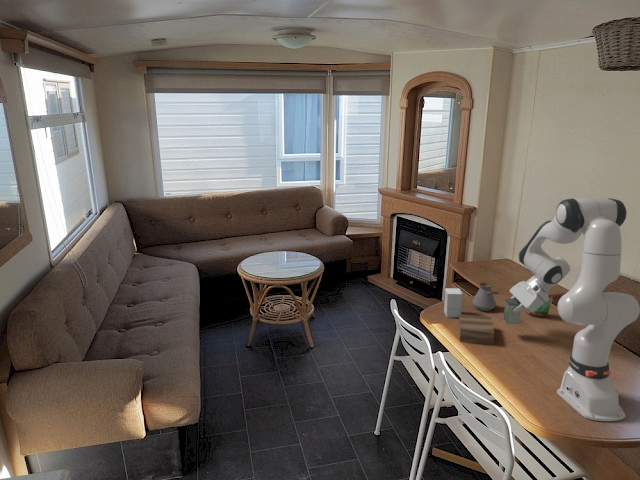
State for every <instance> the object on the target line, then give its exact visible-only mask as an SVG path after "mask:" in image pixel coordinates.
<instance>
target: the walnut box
mask: <svg viewBox="0 0 640 480" xmlns="http://www.w3.org/2000/svg"><path fill="white" fill-rule="evenodd" d="M458 318H459V321H458V331H459V334H458V335H459V342H463V343H471V344H480V345H481V344H482V345H491V346H492V345H494V344H495V342H494V341H495V328H494V325H493V320H492V319H493V318H492V316H484V315H473V314H462V313H461V314H460V317H458Z"/></svg>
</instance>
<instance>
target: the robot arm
mask: <svg viewBox="0 0 640 480" xmlns="http://www.w3.org/2000/svg"><path fill="white" fill-rule="evenodd" d="M626 219H627V208H626V205H625V203H624V202H623V201H621V200H620V199H616V198H601V197H600V198H598V197H569V198H568V199H567V198H565V199H564V200H563V199H562V200H561V201H560V202H559V204H558V205H557V207H556V209H555V215H554V217H553V219H552V220H547V221H545V222H544V223H542V224H541V225H540V226H538V228H537V229H536V230H535V232H534V234H533V235H532V236H531V238H530V239H529V241H528V242H527V243H526V244H525V245H524V246H523V248H521V249H520V251H519V253H518V260H519V263H521V265H523V266H525V267H526V268H527V269H529V271H530V272H531V273H533V276H531V277H530V278H528V279H527V280H523V281H519V282H518V283H516V284H515V285H513V286H512V287H511V288H510V289H509V293H510V294H511V295H512V296H511V297H510V299H517V300H518V301H519V302H520V303H521V304H520V306H518V307H514V308H513V311H514V312H515V313H517V312H518V311H520V312H521V311H522V310H525V309H526V311H527V310H528V311H529V312H534V311H536V310H537V309H538V308H539V307H541V306H542V305H543V303H544V302H547V301H548V300H549V298H550V297H549V293H548V292H549V291H551V289H552V287H554V286H556V285H558V284H560V282H561V281H562V280H564V279H565V277H566V276H568V274H569V273H570V271H571V266H570V264H569V263H568V262H567V261H566V260H565V259H564V258H562V257H560V256H557V257H556V258H554V259H553V257H551V256H550V254H549V253H547V252H545V250H543V247H542V245H543V244H544V242H545V241H546V240H550V241H552V242H554V243H557V244H562V245H563V244H571V243H574V242H575V241H577V240H578V239H579V238H580V237H581V236H582V235H583V247H582V258H581V259H582V260H581V267H580V273H579V277H578V278H577V280H576V282H575V284H574V285H573V286H572V288H571V289H570V290H568V291H567V292H566V293H564V294H563V295H562V296H560V298H559V300H558V302H557V313H558V315H559V317H560V318H561V319H562V320H563V322H564V323H568V324H571V325H572V324H573V325H578V326H586V327H585V328H583V329H581V330H579V331H578V332H577V333H576V334H575V335H574V338H573V345H572V352H571V353H570V355H569V361H568V367H567V369H566V370H565V372H564V373H563V376H562V377H563V378H562V381H561V385H560V387H559V388H558V389H557V391H556V394H557V395H559V397H561V399H563V400H564V401H565V402H566V403H567V404H568V405H570V407H572V408H573V409H574V410H575V411H577V413H578V414H580V415H581V416H582V417H583V418H585V419H587V420H591V421H597V422H616V421H617V422H618V421H622V420H624V419H625V418H626V413H625V411H624V410H623V409H622V407H621V405H620V403H619V402H620V401H619V396H620V390H619V389H618V388H615V387H614V384H613V379H611V377H610V375H611V372H612V371H610V363H609V359H610V353H611V348H612V346H613V343H614V341H615V340H616V338H617V336H618V335H619V334H620V333H621V331H623V329H624V328H626V327H627V326H629V325H630V324H632V323H634V322H636V321H637V319H638V317H639V316H640V305H639V302H638V300H637V299H636V297H634V296H633V295H631V294H628V293H623V292H617V291H611V292H610V291H605V292H604V290H605V288H606V287H607V286H608V285H610V284H611V283H614V282H615V281H617V280H618V278H619V276H620V274H621V261H622V247H623V246H622V244H623V243H622V235H621V233H622V231H621V228H620V227H621V226H622V225H623V224H624V223H625V221H626Z"/></svg>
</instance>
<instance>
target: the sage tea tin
mask: <svg viewBox="0 0 640 480" xmlns="http://www.w3.org/2000/svg"><path fill="white" fill-rule="evenodd" d="M520 304H521V303H520V302H519V301H518V300H517V299H511V298H505V299H504V311H503V320H504V321H505V323H506V324H507V325H519V324H520V319H521V311H518V312H517V313H515V312H514V311H513V308H514V307H518V306H520Z"/></svg>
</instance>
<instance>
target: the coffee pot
mask: <svg viewBox="0 0 640 480" xmlns="http://www.w3.org/2000/svg"><path fill="white" fill-rule="evenodd" d="M478 287H479V289H478V291H477V292H476V294H475V296H474V298H473V299H472V304H473V307H475V309H476V308H477V309H476V310H477V311H481V312H490V311H491V310H493V309H495V307H496V306H497V302H496V300H495V297H494V295H496V298H497V297H500V295H501V293H500V292H498V291H492V288H493V284H492V283H490V282H480V283H478ZM498 294H499V296H497V295H498Z"/></svg>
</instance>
